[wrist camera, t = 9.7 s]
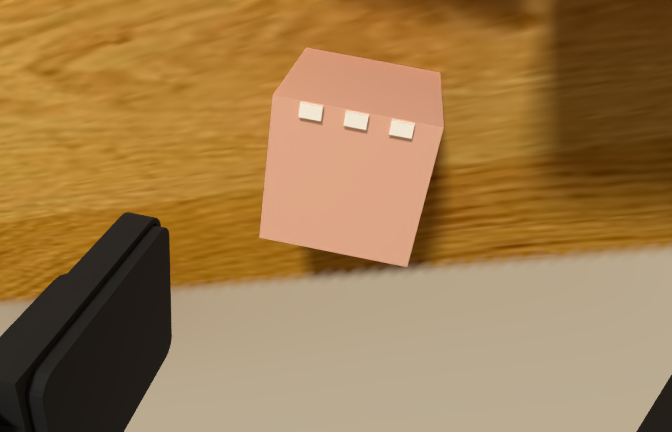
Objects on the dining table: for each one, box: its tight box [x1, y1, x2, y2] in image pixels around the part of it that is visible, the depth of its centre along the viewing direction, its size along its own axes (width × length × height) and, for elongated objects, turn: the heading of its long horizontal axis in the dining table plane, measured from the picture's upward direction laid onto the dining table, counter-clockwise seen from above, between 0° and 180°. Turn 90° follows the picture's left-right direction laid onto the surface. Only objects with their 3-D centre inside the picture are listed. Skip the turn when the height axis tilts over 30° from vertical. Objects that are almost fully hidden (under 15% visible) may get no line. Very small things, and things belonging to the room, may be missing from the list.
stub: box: [259, 47, 444, 267], centre depth 24 cm, size 6×6×7 cm
